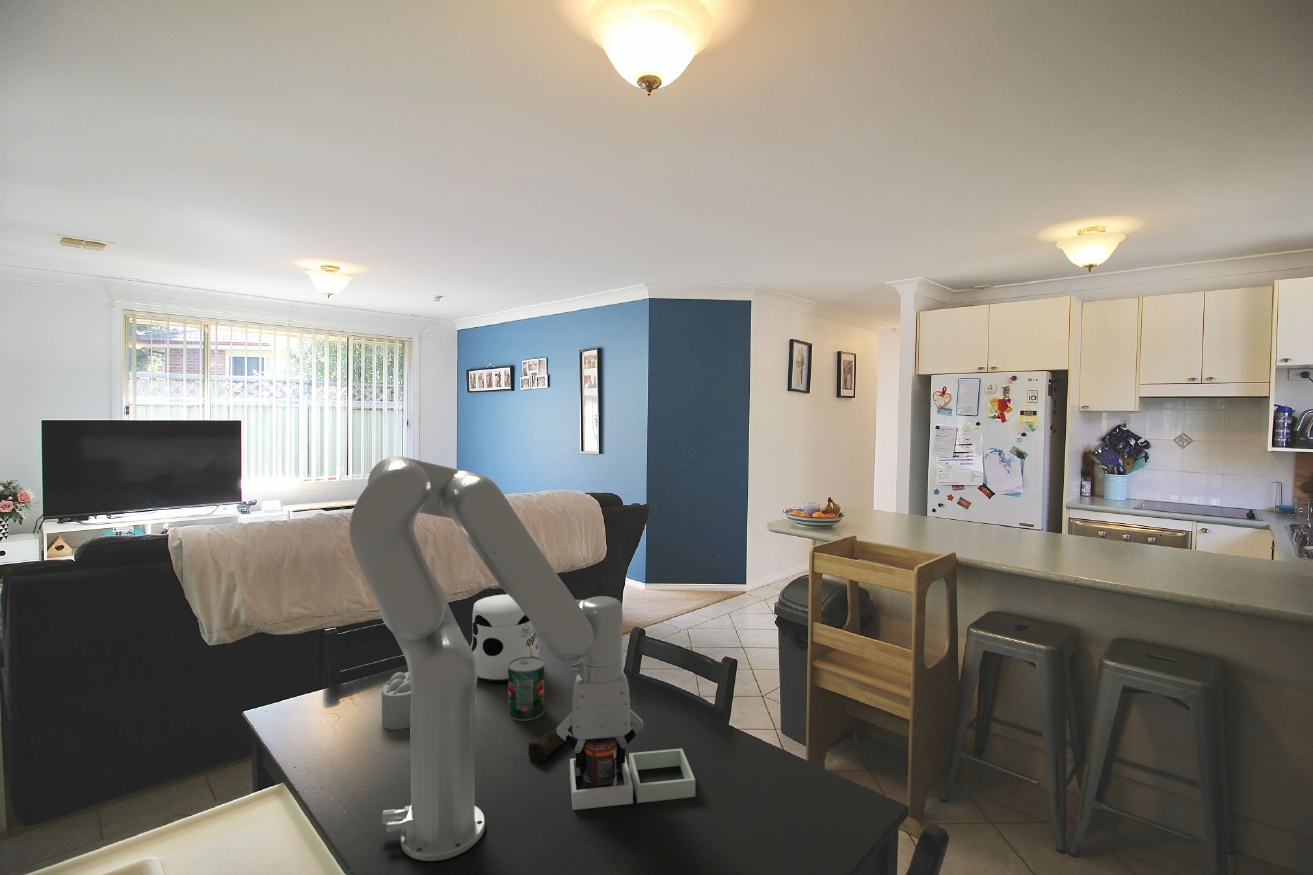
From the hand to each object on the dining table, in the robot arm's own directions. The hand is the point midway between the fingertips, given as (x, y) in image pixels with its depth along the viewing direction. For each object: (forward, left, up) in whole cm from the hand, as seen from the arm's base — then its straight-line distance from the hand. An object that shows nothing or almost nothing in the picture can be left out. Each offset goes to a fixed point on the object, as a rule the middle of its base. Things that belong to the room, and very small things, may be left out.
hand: (600, 767), depth 110 cm
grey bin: (0, 0, -4) cm, 4 cm away
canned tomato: (-14, +30, -4) cm, 34 cm away
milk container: (-20, +52, -4) cm, 56 cm away
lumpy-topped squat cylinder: (-39, +33, -4) cm, 51 cm away
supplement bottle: (0, 0, -4) cm, 4 cm away
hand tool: (-6, +18, -4) cm, 19 cm away
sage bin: (+11, 0, -4) cm, 12 cm away
